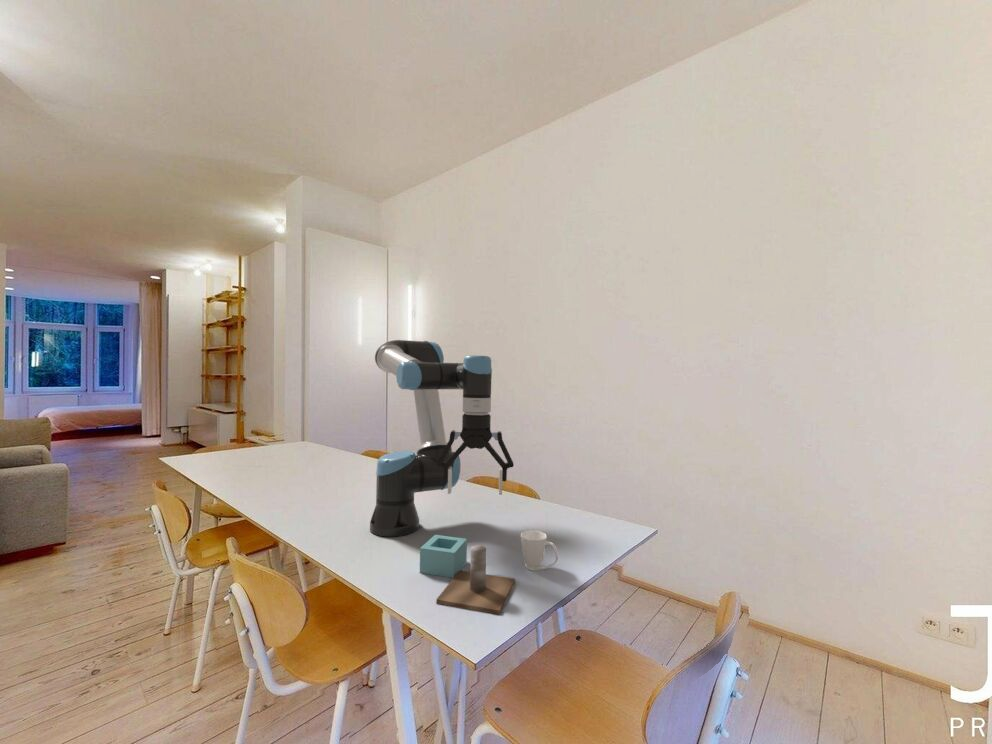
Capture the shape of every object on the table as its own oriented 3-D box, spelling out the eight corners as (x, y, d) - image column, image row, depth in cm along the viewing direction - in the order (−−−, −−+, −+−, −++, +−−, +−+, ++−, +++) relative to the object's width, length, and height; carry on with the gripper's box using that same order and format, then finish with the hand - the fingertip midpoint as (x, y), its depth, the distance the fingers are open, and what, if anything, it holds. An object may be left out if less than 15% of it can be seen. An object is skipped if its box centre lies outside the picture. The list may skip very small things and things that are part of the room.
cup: (525, 558, 113) (526, 528, 113) (561, 566, 109) (562, 535, 109) (514, 568, 107) (515, 537, 107) (552, 578, 102) (552, 545, 102)
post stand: (436, 603, 91) (437, 557, 91) (459, 573, 104) (460, 533, 104) (499, 614, 87) (500, 566, 87) (515, 582, 100) (515, 540, 100)
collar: (419, 572, 104) (420, 548, 104) (434, 557, 113) (435, 534, 113) (453, 577, 102) (454, 552, 102) (466, 561, 110) (467, 538, 110)
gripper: (427, 413, 109) (426, 496, 109) (524, 415, 109) (522, 497, 110) (431, 411, 117) (430, 487, 117) (522, 412, 117) (520, 489, 117)
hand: (475, 492), depth 113 cm, fingers open, 13 cm apart
